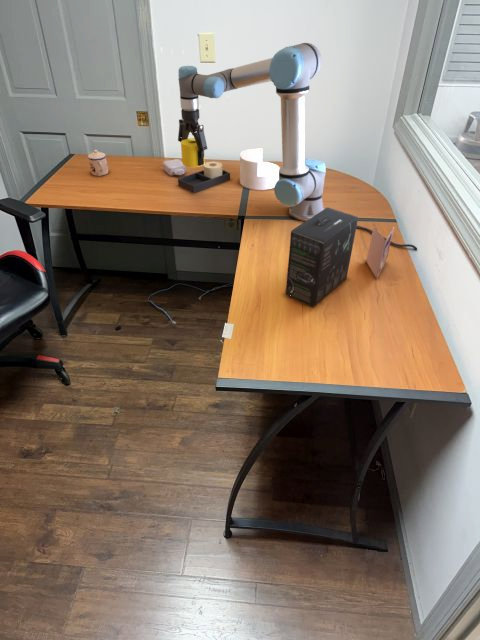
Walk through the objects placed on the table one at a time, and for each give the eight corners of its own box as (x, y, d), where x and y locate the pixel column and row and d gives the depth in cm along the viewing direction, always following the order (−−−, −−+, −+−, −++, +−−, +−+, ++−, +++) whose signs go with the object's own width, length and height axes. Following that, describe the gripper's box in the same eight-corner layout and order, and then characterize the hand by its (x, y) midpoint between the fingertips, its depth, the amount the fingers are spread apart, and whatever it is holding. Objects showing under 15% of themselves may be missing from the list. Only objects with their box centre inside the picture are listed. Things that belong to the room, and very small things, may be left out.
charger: (174, 180, 220) (163, 170, 230) (190, 176, 224) (179, 167, 234) (173, 171, 217) (162, 161, 227) (190, 167, 220) (178, 158, 230)
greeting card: (379, 279, 153) (388, 241, 144) (358, 273, 156) (366, 236, 146) (387, 263, 161) (396, 227, 151) (367, 258, 164) (375, 222, 154)
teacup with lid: (89, 171, 229) (84, 149, 221) (106, 168, 232) (102, 146, 225) (95, 179, 221) (90, 156, 213) (112, 176, 224) (108, 153, 217)
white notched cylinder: (277, 191, 210) (279, 163, 202) (236, 188, 213) (236, 161, 204) (281, 175, 225) (282, 149, 217) (243, 172, 228) (243, 147, 219)
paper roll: (226, 178, 220) (225, 164, 216) (212, 183, 216) (211, 169, 211) (214, 173, 226) (213, 160, 221) (200, 178, 221) (199, 164, 216)
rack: (230, 179, 221) (230, 172, 218) (193, 193, 208) (193, 186, 206) (214, 173, 227) (214, 166, 225) (178, 185, 215) (177, 178, 213)
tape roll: (204, 159, 201) (203, 138, 195) (204, 167, 193) (203, 145, 187) (183, 159, 200) (181, 138, 194) (181, 167, 193) (180, 145, 187)
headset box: (318, 266, 159) (328, 200, 143) (347, 278, 154) (361, 210, 137) (283, 295, 146) (289, 225, 129) (314, 309, 140) (324, 238, 124)
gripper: (214, 112, 178) (216, 166, 192) (180, 101, 190) (184, 153, 205) (200, 116, 174) (203, 170, 188) (166, 105, 186) (171, 157, 201)
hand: (193, 161), depth 196 cm, fingers closed on tape roll, 10 cm apart
